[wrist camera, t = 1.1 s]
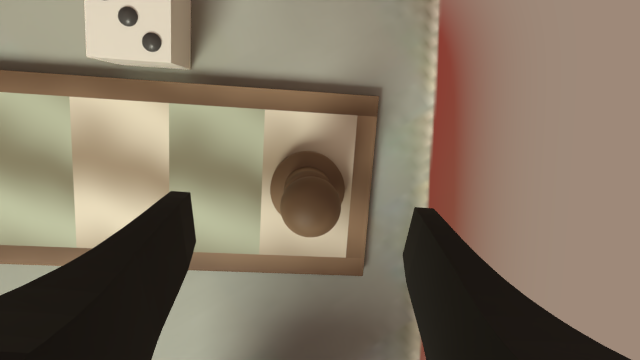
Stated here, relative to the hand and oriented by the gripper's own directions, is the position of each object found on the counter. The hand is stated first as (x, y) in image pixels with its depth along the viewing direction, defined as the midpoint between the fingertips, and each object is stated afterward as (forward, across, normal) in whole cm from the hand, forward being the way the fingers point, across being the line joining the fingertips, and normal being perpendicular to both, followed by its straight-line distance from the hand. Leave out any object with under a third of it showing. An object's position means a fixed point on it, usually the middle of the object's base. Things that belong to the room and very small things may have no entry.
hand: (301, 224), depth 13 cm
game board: (+10, +11, +6) cm, 16 cm away
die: (+14, +9, -2) cm, 17 cm away
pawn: (+10, 0, +5) cm, 11 cm away
